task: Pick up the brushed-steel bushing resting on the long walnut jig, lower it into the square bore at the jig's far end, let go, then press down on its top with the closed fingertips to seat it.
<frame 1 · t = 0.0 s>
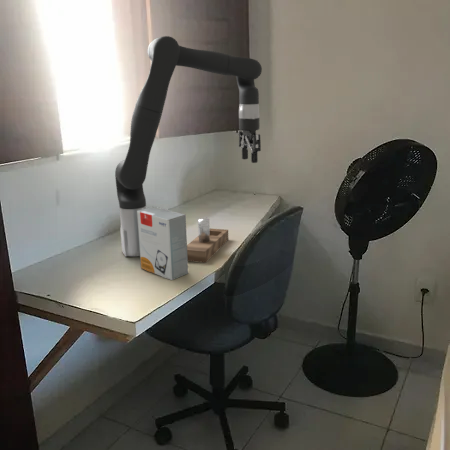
hand: (249, 160, 190), 29 cm above the table, fingers open, 8 cm apart
hard drive box: (164, 271, 165), on the table
jig: (206, 249, 184), on the table
bushing: (204, 240, 181), point 4 cm above the table, touching jig
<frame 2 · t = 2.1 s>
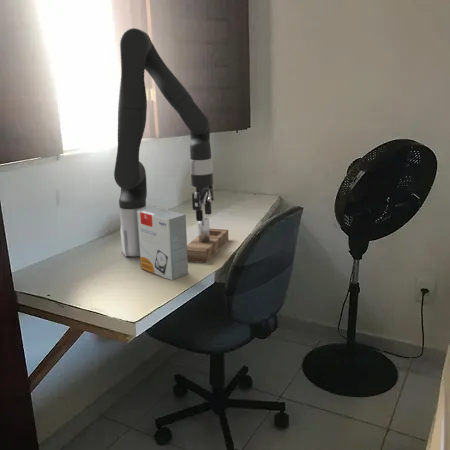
hand: (204, 217, 179), 13 cm above the table, fingers open, 8 cm apart
nothing on the table moved.
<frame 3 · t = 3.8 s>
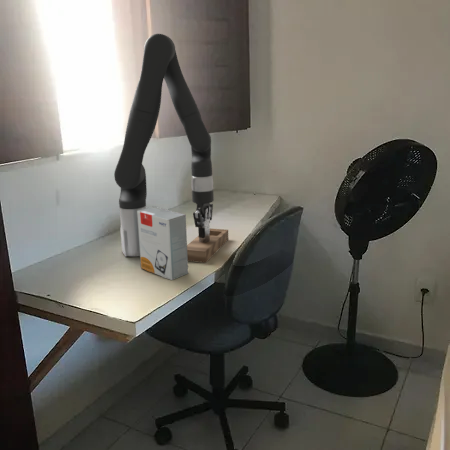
hand: (204, 235, 181), 6 cm above the table, fingers closed on bushing, 4 cm apart
bushing: (204, 240, 181), point 4 cm above the table, touching gripper, jig
everything else where it was.
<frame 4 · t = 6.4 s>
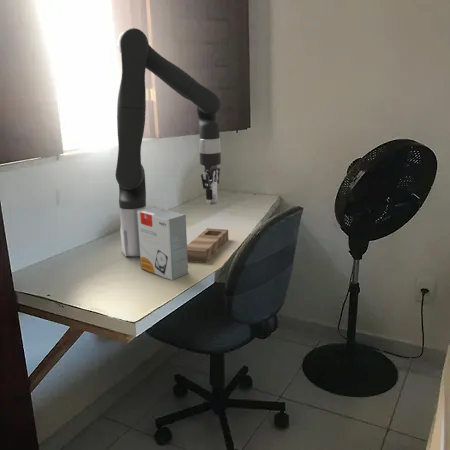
hand: (211, 197, 186), 18 cm above the table, fingers closed on bushing, 4 cm apart
bushing: (212, 203, 186), point 16 cm above the table, touching gripper
everything else where it was.
when the fingers open (5 cm above the table, at t = 9.3 s): bushing drops 3 cm, resting in jig.
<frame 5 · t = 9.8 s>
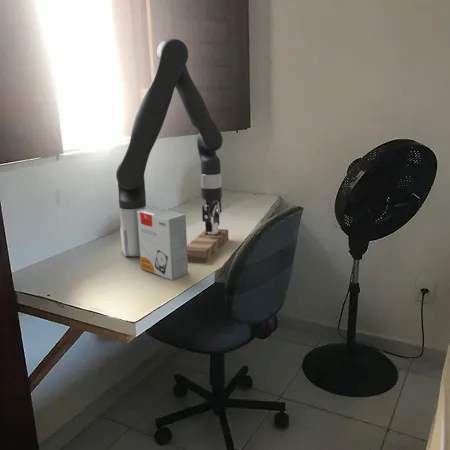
hand: (212, 228, 189), 6 cm above the table, fingers open, 8 cm apart
bushing: (213, 243, 191), resting in jig
everything else where it was.
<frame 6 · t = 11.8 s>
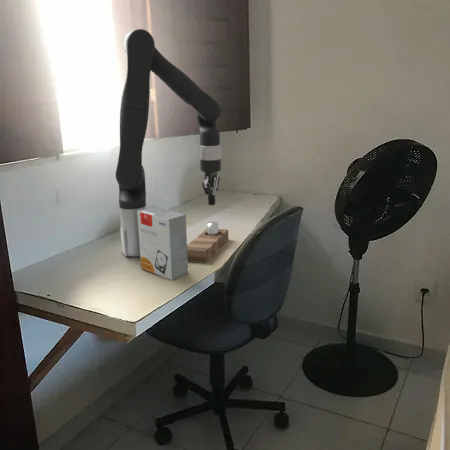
hand: (212, 204, 186), 15 cm above the table, fingers closed
nothing on the table moved.
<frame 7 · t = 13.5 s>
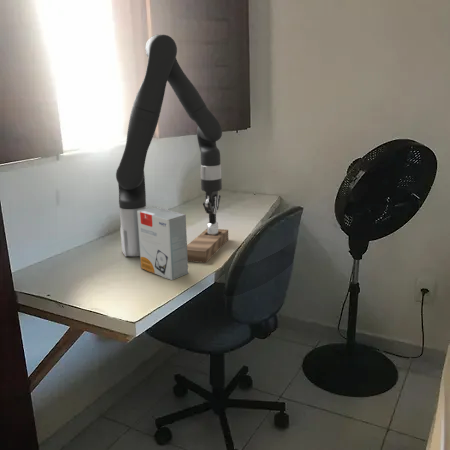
hand: (212, 223, 188), 8 cm above the table, fingers closed
bushing: (213, 243, 191), resting in jig, touching gripper
everything else where it was.
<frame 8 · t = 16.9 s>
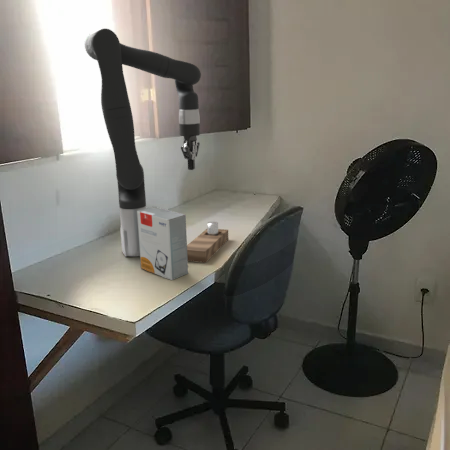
hand: (191, 169, 189), 27 cm above the table, fingers closed
bushing: (213, 243, 191), resting in jig
everything else where it was.
at the end: bushing 0.1 cm from the target spot on the jig, point 0.0 cm above the jig's base; bushing tilted 0°; the gripper is holding nothing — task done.
